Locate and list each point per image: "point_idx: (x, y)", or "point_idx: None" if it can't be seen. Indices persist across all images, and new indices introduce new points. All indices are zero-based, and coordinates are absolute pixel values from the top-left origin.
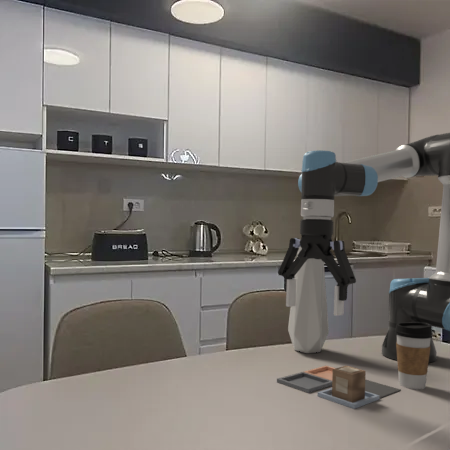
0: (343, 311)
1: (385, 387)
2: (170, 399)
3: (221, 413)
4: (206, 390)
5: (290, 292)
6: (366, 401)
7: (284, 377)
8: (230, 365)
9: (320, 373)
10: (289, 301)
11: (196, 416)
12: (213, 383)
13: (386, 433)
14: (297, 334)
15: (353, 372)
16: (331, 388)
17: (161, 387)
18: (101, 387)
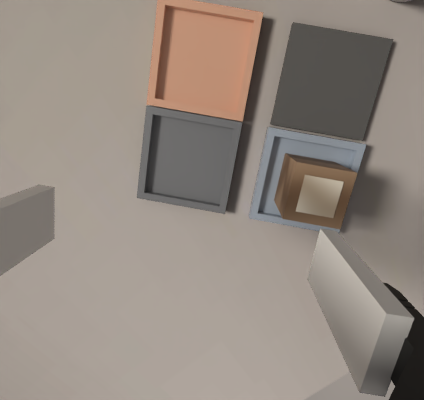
0: (340, 237)
1: (354, 52)
2: (73, 373)
3: (168, 370)
4: (77, 311)
5: (6, 258)
6: None
7: (143, 178)
8: None
9: (173, 57)
10: (38, 241)
11: (150, 397)
12: (56, 275)
13: (413, 287)
14: None
15: (335, 208)
16: (261, 175)
17: (17, 345)
18: None
